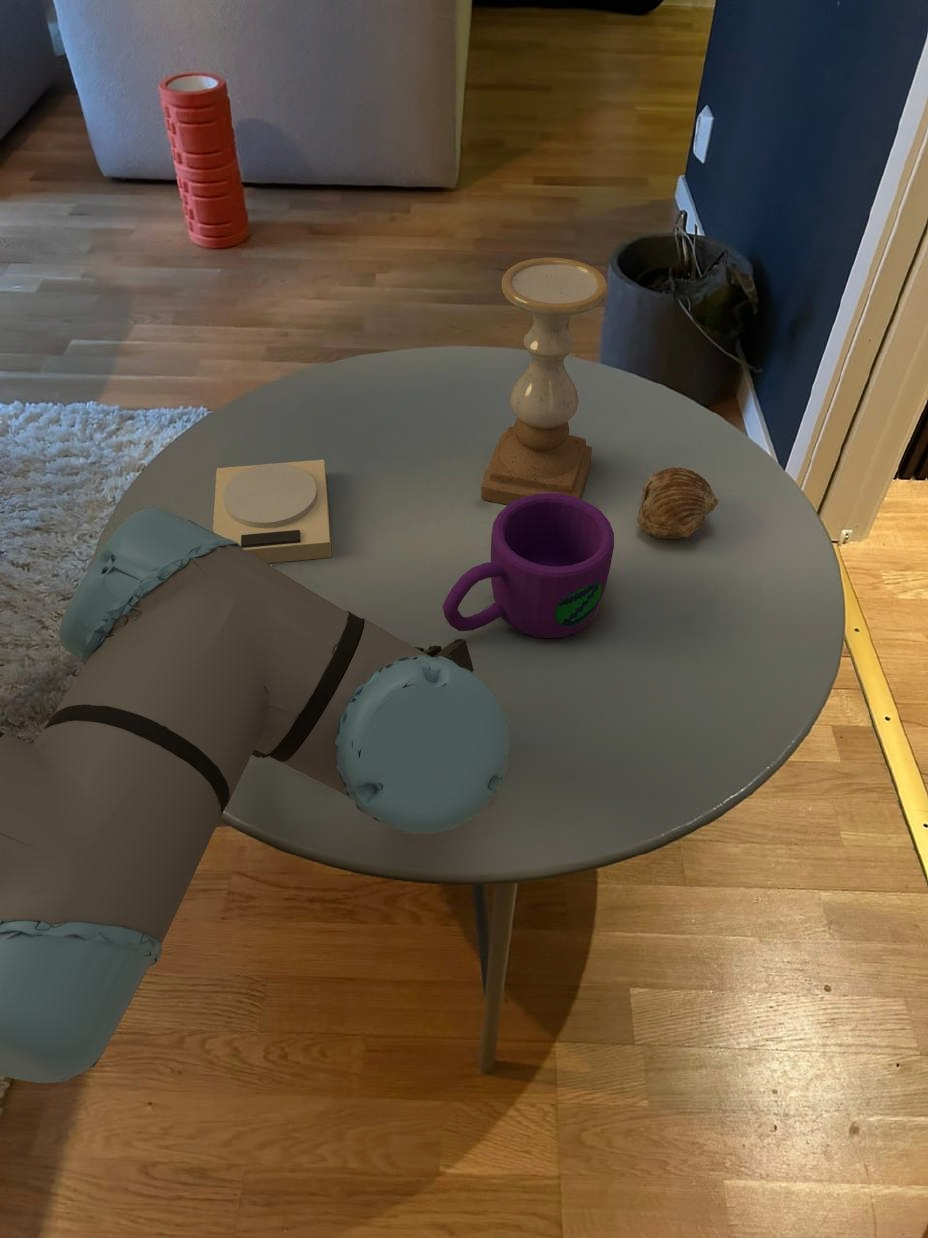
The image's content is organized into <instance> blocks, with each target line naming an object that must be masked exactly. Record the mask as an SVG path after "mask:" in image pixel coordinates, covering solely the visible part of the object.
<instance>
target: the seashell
mask: <svg viewBox="0 0 928 1238" xmlns="http://www.w3.org/2000/svg"><path fill="white" fill-rule="evenodd" d="M641 501H642V504H641V507H640V509H639V510H638V512H639V513H638V516H637V523H638V527H639V528H640V530H641V531H642V533H643V534H645V535H647V536H649V537H652V538H657V539H662V540H673V539H674V540H675V539H681V538H690V537H691V536H692V534H693V533H695V532H696V531H697V530H699V528H701V526H702V525H703V523H704V522H705V519H706V516H708V515H709V514H710V513H712V512H713V511H714V510H715V508H716V507H717V506H718V505H719V500H718V498H717V497H716V495H715V493H714V491H713V489H712V487H711V485H710V483H708V481H707V480H706V479H705V478H704V477H702V476H701V475H700V474H699V473H697V472H695V471H693V470H691V469H687V468H684V467H668V468H665V469H662V470H659V471H657V472H656V473H655V472H654V473H653V474H651V475H650V476H649V477H648V479H647V481H646V482H645V483H644V484H643V486H642V495H641Z"/></svg>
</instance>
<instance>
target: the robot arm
mask: <svg viewBox="0 0 928 1238" xmlns="http://www.w3.org/2000/svg"><path fill="white" fill-rule="evenodd" d="M58 637H59V641H60V643H61V645H62V647H63V648H64V649H65V650H66V651H67V652H68V653H70V654H71V655H73V656H75V657H76V658H77V659H79V660H80V661H81V662H82V664H83V667H82V669H81V670H80V672H79V673H78V675H77V677H76V678H75V679H74V682H73V683H72V684H71V686H70V687H69V689H68V691H67V693H66V694H65V696H64V697H63V699H62V700H61V702H60V703H59V705H58V707H57V708H56V710H55V712H54V713H53V715H52V716H51V717H50V719H49V720H48V721H47V724H46V725H45V726H44V728H43V729H42V731H41V732H40V733H39V735H38V736H37V737H36V739H35V741H33V743H32V744H30V743H28V742H27V741H24V740H21V739H19V738H17V737H15V736H13V735H10V734H8V733H5V732H2V731H0V1076H2V1077H6V1078H9V1079H14V1080H19V1081H23V1082H29V1083H36V1084H52V1083H54V1084H55V1083H62V1082H65V1081H69V1080H71V1079H72V1078H74V1077H76V1076H79V1074H84V1073H85V1072H86V1071H88V1070H89V1069H90V1068H94V1067H95V1066H96V1065H97V1064H98V1062H99V1061H100V1059H101V1058H102V1056H103V1055H104V1053H105V1051H106V1050H107V1048H108V1045H109V1044H110V1042H111V1040H112V1038H113V1036H114V1034H115V1032H116V1031H117V1029H118V1027H119V1025H120V1023H121V1021H122V1020H123V1018H124V1015H125V1014H126V1012H127V1010H128V1008H129V1006H130V1004H131V1003H132V1001H133V999H134V996H135V995H136V993H137V991H138V989H139V987H140V986H141V984H142V982H143V980H144V978H145V976H146V974H147V972H148V970H149V969H150V968H152V967H153V966H155V965H156V964H157V963H158V962H159V960H160V958H161V955H162V953H163V942H164V940H165V939H166V936H167V934H168V932H169V930H170V928H171V925H172V923H173V922H174V919H175V917H176V914H177V912H178V910H179V908H180V906H181V904H182V901H184V898H185V895H186V893H187V891H188V889H189V886H190V884H191V882H192V880H193V878H194V876H195V873H196V871H197V869H198V867H199V865H200V862H201V861H202V859H203V857H204V855H205V852H206V850H207V848H208V845H209V844H210V841H211V839H212V836H213V835H214V832H215V830H216V828H217V826H218V824H219V822H220V819H221V818H222V816H223V813H224V811H225V809H226V808H227V806H228V805H229V803H230V801H231V799H232V796H233V794H234V793H235V790H236V789H237V786H238V784H239V782H240V780H241V779H242V776H243V774H244V772H245V769H246V768H247V765H248V763H249V761H250V760H251V757H252V756H254V757H255V758H262V759H265V758H268V757H269V758H271V759H274V760H275V761H278V762H280V763H283V764H285V765H287V766H289V767H291V768H292V769H295V770H297V771H299V772H301V773H303V774H304V775H307V776H308V777H310V778H313V779H314V780H316V781H318V782H320V783H321V784H324V785H326V786H327V787H330V788H331V789H333V790H335V791H337V792H340V793H341V794H343V795H345V796H347V798H349V799H350V800H352V801H353V802H354V804H355V807H356V809H357V810H358V811H359V812H361V813H363V814H364V815H366V816H368V817H370V818H371V819H374V820H376V821H378V822H380V823H382V824H383V825H385V826H387V827H389V828H391V829H394V830H396V831H399V832H403V833H408V834H415V835H432V834H440V833H443V832H447V831H449V830H452V829H455V828H457V827H460V826H461V825H464V824H465V823H467V822H468V821H470V820H471V819H473V818H474V817H475V816H477V815H478V814H479V813H480V812H481V811H483V810H484V809H485V808H486V807H487V805H488V804H489V803H490V802H491V801H492V799H493V798H494V797H495V795H496V793H497V792H498V791H499V789H500V788H501V787H502V783H503V780H504V777H505V775H506V772H507V769H508V767H509V762H510V755H511V733H510V732H511V731H510V726H509V723H508V719H507V715H506V711H505V710H504V708H503V706H502V702H500V700H499V698H498V697H497V695H496V694H495V693H494V691H493V690H492V689H491V687H490V686H489V685H487V683H486V682H484V681H483V680H482V679H481V678H480V677H478V676H477V675H475V674H474V673H473V672H474V671H475V670H474V666H473V662H472V658H471V655H470V651H469V648H468V643H467V640H466V638H456V639H454V640H453V641H452V642H450V643H448V644H447V645H446V646H445V647H444V648H443V647H442V646H441V645H436V644H435V645H431V646H429V647H428V648H426V649H425V648H424V647H419V646H413V645H411V644H409V643H408V642H406V641H404V640H402V639H401V638H399V637H397V636H395V635H394V634H392V633H390V632H389V631H387V630H386V629H383V628H382V627H380V626H378V625H376V624H375V623H373V622H371V621H370V620H368V619H366V618H365V617H362V618H361V617H360V616H358V615H356V614H354V613H352V612H351V611H349V610H344V609H343V608H341V607H339V606H338V605H336V604H334V603H333V602H331V601H329V600H328V599H326V598H324V597H323V596H321V595H319V594H318V593H316V592H314V591H313V590H311V589H309V588H308V587H306V586H305V585H303V584H301V583H300V582H298V581H297V580H294V579H293V578H292V577H290V576H288V575H287V574H285V573H283V572H282V571H280V570H278V569H277V568H276V567H274V566H272V565H270V563H265V562H264V561H262V560H261V559H259V558H257V557H256V556H254V555H252V554H251V553H249V552H248V551H246V550H244V549H243V548H242V547H241V546H240V545H239V543H237V542H235V541H233V540H231V539H228V538H224V537H222V536H220V535H218V534H216V533H214V532H213V530H211V529H208V528H206V527H205V526H203V525H200V524H198V523H197V522H195V521H193V520H191V519H187V518H184V517H182V516H180V515H178V514H175V513H173V512H171V511H170V510H167V509H164V508H160V507H146V508H143V509H142V508H141V509H139V510H138V511H135V512H133V513H132V514H130V515H129V516H127V518H126V519H124V520H123V522H122V523H121V524H120V525H118V527H117V528H116V529H115V530H114V532H113V533H112V535H111V536H110V537H109V538H108V540H107V541H106V543H105V544H104V545H103V547H102V548H101V550H100V552H99V553H98V555H97V556H96V558H95V560H94V562H93V564H92V565H91V566H90V567H89V568H88V569H87V572H86V573H85V575H84V576H83V578H82V580H81V581H80V583H79V585H78V587H77V588H76V590H75V592H74V593H73V595H72V598H71V600H70V601H69V603H68V606H67V607H66V610H65V611H64V613H63V615H62V619H61V622H60V625H59V631H58Z"/></svg>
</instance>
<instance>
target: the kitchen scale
mask: <svg viewBox="0 0 928 1238" xmlns="http://www.w3.org/2000/svg"><path fill="white" fill-rule="evenodd" d="M215 471H216V473H215V474H216V475H215V490H214V505H213V506H214V508H213V523H212V532H214V533H216V534H218V535H220V536H222V537H224V538H228V539H231V540H233V541H235V542H237V543H239V545H240V546H241V547H242V548H243V549H244V550H246V551H248V552H249V553H251V554H252V555H254V556H256V557H257V558H259V559H261V560H262V561H264V562H265V563H267V564H276V563H277V564H278V563H285V562H287V563H288V562H296V561H297V562H298V561H308V560H318V559H319V560H320V559H329V558H333V552H332V551H333V550H332V537H331V535H332V534H331V523H330V522H331V521H330V510H329V496H328V495H329V493H328V481H327V470H326V462H325V459H315V460H314V459H313V460H301V461H289V462H288V461H287V462H278V463H275V462H273V463H263V464H253V465H239V466H229V467H217V468H216V470H215Z"/></svg>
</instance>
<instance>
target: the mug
mask: <svg viewBox="0 0 928 1238" xmlns="http://www.w3.org/2000/svg"><path fill="white" fill-rule="evenodd" d="M490 537H491V539H490V561H489V562H484V563H480V564H479V565H476V566H475V565H474V566H473V567H471V568H470V569H469V570H467V571H466V572H465V573H463V574H462V575H461V576H460V577H459V579H458V580H457V581H456V583H455V584H454V585H453V586H452V587H451V589H450V590H449V592H448V594H447V596H446V597H445V599H444V602H443V604H442V610H443V615H444V618H445V620H446V622H447V623H448V624H449V626H450V627H452V628H453V629H455V630H457V631H459V632H471V631H474V630H478V629H481V628H483V627H485V626H487V625H489V624H491V623H493V622H495V621H497V619H499V618H501V617H502V619H503V620H504V621H505V622H506V623H507V624H508V625H510V626H511V627H512V628H513V629H515V630H517V631H519V632H521V633H523V634H525V635H529V636H532V637H536V638H544V639H554V638H561V637H562V638H563V637H566V636H568V635H571V634H575V633H576V632H578V631H579V630H582V629H583V628H584V627H585V626H587V625H588V623H589V622H591V620H592V619H593V618H594V617H595V616H596V613H597V611H598V609H599V606H600V604H601V601H602V598H603V596H604V593H605V591H606V587H607V582H608V578H609V575H610V570H611V565H612V560H613V554H614V548H615V533H614V530H613V527H612V525H611V522H610V520H609V519H608V518H607V517H606V515H605V514H604V512H603V511H601V510H600V509H599V508H597V507H596V506H594V505H593V504H592V503H590V502H588V501H585V500H584V499H582V498H581V499H579V498H576V497H572V496H568V495H564V494H555V493H543V494H533V495H530V496H526V497H523V498H520V499H518V500H516V501H514V502H512V503H510V504H509V505H507V504H506V506H505V507H504V508H503V509H501V511H500V512H499V513H498V514H497V516H496V518H495V520H494V521H493V523H492V528H491V535H490ZM486 579H490V581H491V582H490V583H491V589H492V595H493V599H494V602H493V603H492V604H490V606H489V607H487V608H485V609H483V610H482V611H480V612H478V613H475V614H472V615H469V616H463V615H462V614H461V613H460V611H459V610H458V609H459V606H460V604H461V603H462V601H463V600H464V598H465V596H466V595H467V594H468V593H469V592H470V590H471V589H472V588H473V587H474V586H475V585H476V584H477V583H479V582H480V581H483V580H486Z"/></svg>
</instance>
